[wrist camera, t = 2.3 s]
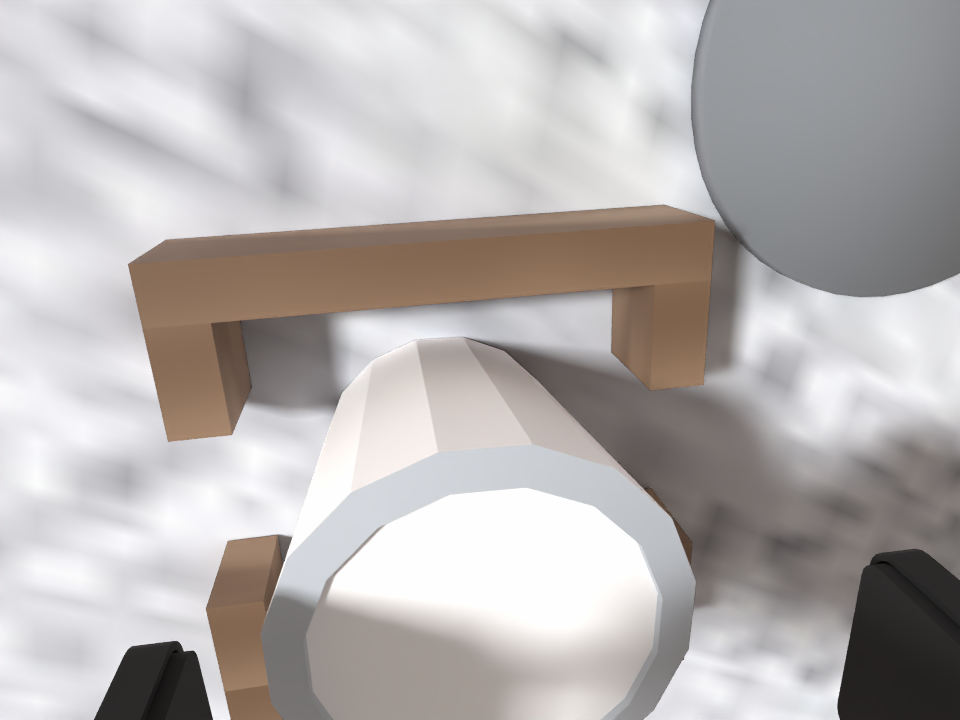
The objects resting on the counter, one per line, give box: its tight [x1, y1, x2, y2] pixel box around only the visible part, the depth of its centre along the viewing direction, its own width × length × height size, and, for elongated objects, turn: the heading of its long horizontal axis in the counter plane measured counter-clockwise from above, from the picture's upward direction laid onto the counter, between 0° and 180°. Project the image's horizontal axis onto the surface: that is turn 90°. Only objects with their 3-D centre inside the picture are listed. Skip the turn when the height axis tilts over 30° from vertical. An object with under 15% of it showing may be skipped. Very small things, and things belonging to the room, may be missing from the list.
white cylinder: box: [260, 337, 696, 720], centre depth 14 cm, size 7×7×7 cm
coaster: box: [691, 0, 960, 297], centre depth 15 cm, size 10×10×1 cm
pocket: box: [128, 205, 715, 720], centre depth 16 cm, size 11×11×2 cm
